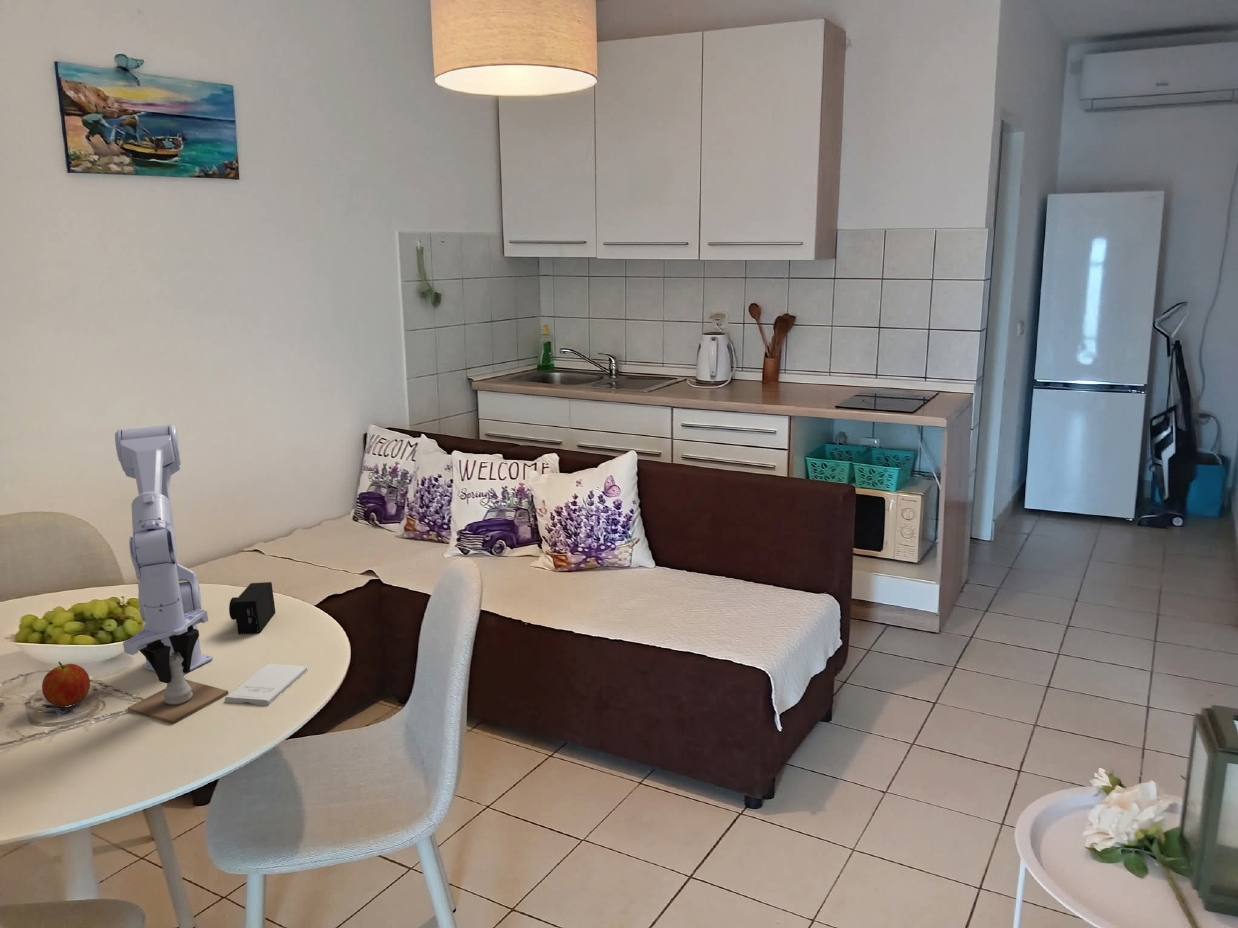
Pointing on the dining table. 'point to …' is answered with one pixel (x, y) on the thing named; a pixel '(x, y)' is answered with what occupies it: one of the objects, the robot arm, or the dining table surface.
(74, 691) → the fruit
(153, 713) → the walnut coaster
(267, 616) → the digital camera
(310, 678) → the dining table surface
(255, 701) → the external hard drive
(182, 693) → the rook chess piece
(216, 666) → the dining table surface
